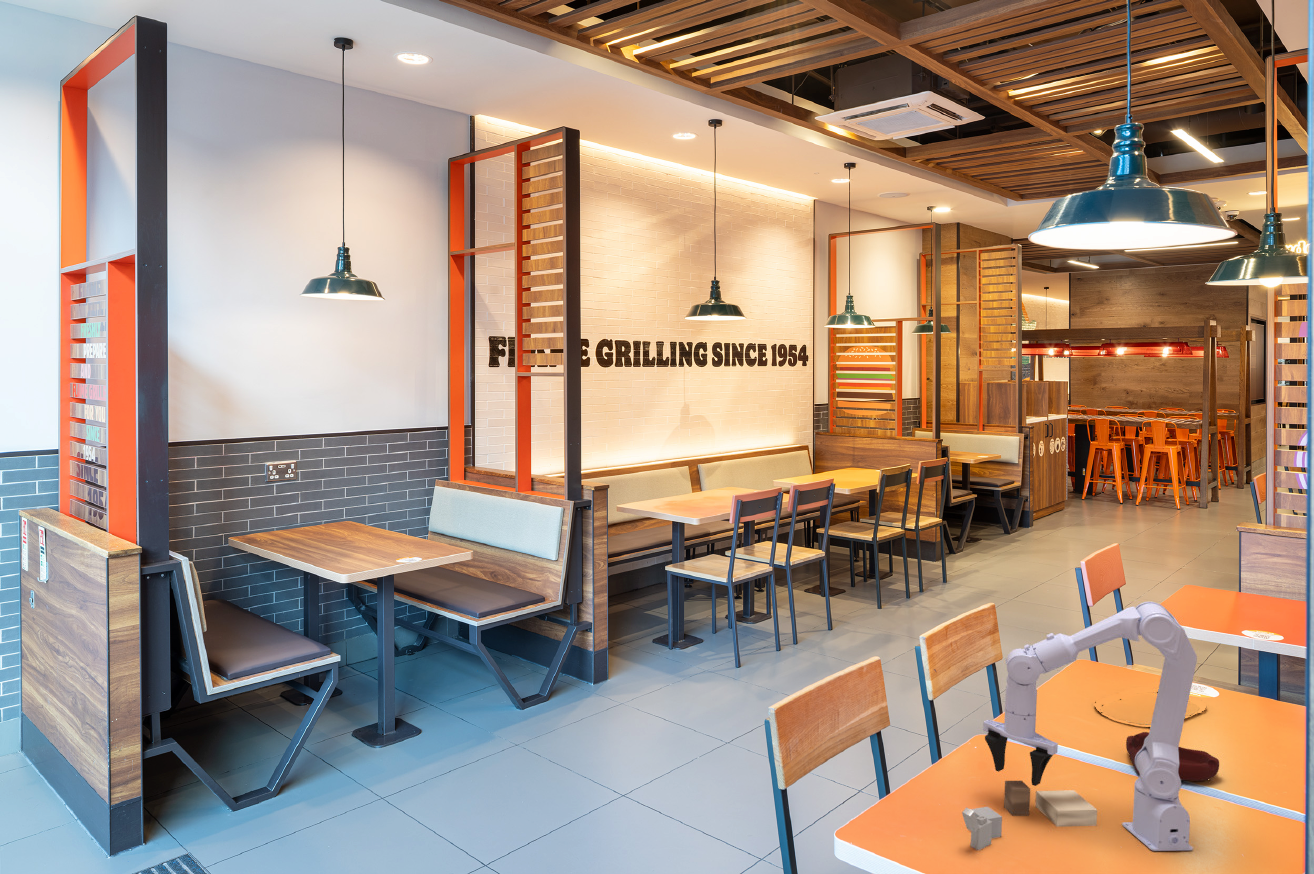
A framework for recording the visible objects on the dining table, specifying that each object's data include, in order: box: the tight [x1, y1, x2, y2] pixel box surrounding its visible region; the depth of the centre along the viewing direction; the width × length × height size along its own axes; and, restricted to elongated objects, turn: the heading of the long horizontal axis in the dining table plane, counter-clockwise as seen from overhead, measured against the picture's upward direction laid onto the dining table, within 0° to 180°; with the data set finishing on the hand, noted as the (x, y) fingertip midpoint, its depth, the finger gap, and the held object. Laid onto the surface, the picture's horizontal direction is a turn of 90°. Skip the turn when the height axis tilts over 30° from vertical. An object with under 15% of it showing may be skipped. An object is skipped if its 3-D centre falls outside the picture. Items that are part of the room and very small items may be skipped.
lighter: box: [961, 807, 992, 851], centre depth 156 cm, size 7×2×8 cm, turn 125°
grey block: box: [970, 806, 1003, 840], centre depth 161 cm, size 4×4×4 cm
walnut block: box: [1003, 780, 1031, 817], centre depth 169 cm, size 4×4×6 cm
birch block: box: [1035, 789, 1098, 828], centre depth 168 cm, size 8×8×4 cm
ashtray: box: [1125, 731, 1220, 782], centre depth 188 cm, size 18×16×5 cm
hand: (1017, 776), depth 169 cm, fingers open, 7 cm apart
